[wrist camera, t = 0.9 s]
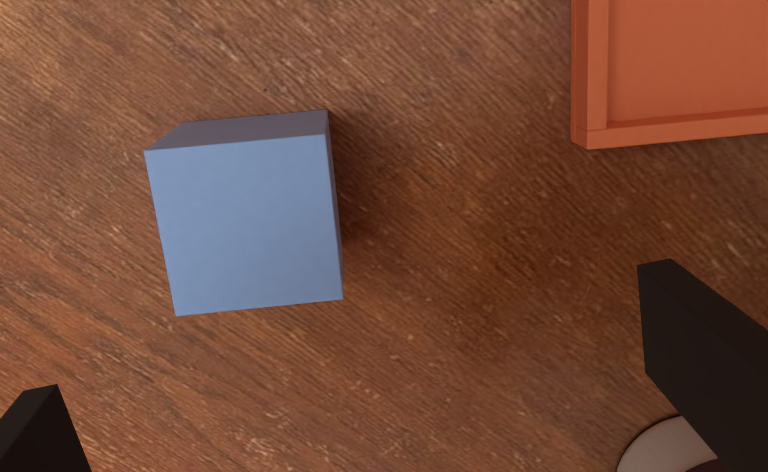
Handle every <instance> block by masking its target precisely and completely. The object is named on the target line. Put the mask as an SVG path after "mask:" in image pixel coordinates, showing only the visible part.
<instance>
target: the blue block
mask: <svg viewBox="0 0 768 472" xmlns="http://www.w3.org/2000/svg"><path fill="white" fill-rule="evenodd" d="M144 156H145V161H146V166H147V172H148V177H149V182H150V187H151V192H152V197H153V202H154V208H155V213H156V218H157V223H158V228H159V233H160V238H161V244H162V249H163V254H164V259H165V264H166V269H167V275H168V280H169V285H170V290H171V295H172V300H173V305H174V311H175V315H176V316H185V315H194V314H204V313H214V312H224V311H234V310H243V309H253V308H263V307H273V306H283V305H292V304H302V303H312V302H322V301H332V300H341V299H343V263H342V240H341V231H340V221H339V212H338V203H337V193H336V184H335V175H334V165H333V156H332V147H331V137H330V128H329V119H328V110H315V111H304V112H293V113H282V114H271V115H260V116H250V117H239V118H228V119H217V120H206V121H195V122H184V123H181V124H180V125H179V126H177V127H176V128H174V129H173V130H172V131H170V132H169V133H168V134H166V135H165V136H164V137H162V138H161V139H159V140H158V141H157V142H155V143H154V144H153V145H151V146H150V147H149V148H147V149H146V150H145V151H144Z"/></svg>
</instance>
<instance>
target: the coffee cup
mask: <svg viewBox="0 0 768 472" xmlns="http://www.w3.org/2000/svg"><path fill="white" fill-rule="evenodd" d="M617 472H730V471H729V470H728V469H727V468H726V467H725V466H724V464H723V463H722V462H721V461H720V460H719V459H718V457H717V456H716V455H715V454H714V453H713V451H712V450H711V449H710V448H709V447H708V446H707V444H706V443H705V442H704V441H703V440H702V439H701V437H700V436H699V435H698V434H697V433H696V431H695V430H694V429H693V428H692V427H691V426H690V424H689V423H688V422H687V421H686V420H685V419H684V417H683V416H679V417H675V418H671V419H668V420H665V421H663V422H660V423H658V424H656V425H654V426H653V427H651V428H649V429H648V430H646V431H645V432H644V433H642V434H641V435H640V436H639V437H638V438H637V439H636V440H635V441H634V442H633V443H631V445H630V446H629V447H628V449H627V450H626V451H625V453H624V455H623V456H622V458H621V460H620V463H619V465H618V468H617Z"/></svg>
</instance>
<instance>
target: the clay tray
mask: <svg viewBox="0 0 768 472" xmlns="http://www.w3.org/2000/svg"><path fill="white" fill-rule="evenodd" d="M762 133H768V0H571V141H572V142H574V143H576V144H578V145H580V146H581V147H583V148H585V149H587V150H594V149H604V148H615V147H625V146H636V145H646V144H657V143H667V142H678V141H688V140H699V139H709V138H720V137H730V136H741V135H751V134H762Z"/></svg>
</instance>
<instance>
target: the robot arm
mask: <svg viewBox="0 0 768 472" xmlns="http://www.w3.org/2000/svg"><path fill="white" fill-rule="evenodd" d="M637 273H638V286H639V298H640V311H641V323H642V336H643V348H644V361H645V373H646V374H647V375H648V376H649V377H650V379H651V380H652V381H653V382H654V383H655V385H656V386H657V387H658V388H659V389H660V390H661V392H662V393H663V394H664V395H665V396H666V397H667V399H668V400H669V401H670V402H671V403H672V404H673V406H674V407H675V408H676V409H677V410H678V412H679V413H680V414H681V415H682V416H683V417H684V419H685V420H686V421H687V422H688V423H689V424H690V426H691V427H692V428H693V429H694V430H695V431H696V433H697V434H698V435H699V436H700V437H701V439H702V440H703V441H704V442H705V443H706V444H707V446H708V447H709V448H710V449H711V450H712V451H713V453H714V454H715V455H716V456H717V457H718V459H719V460H720V461H721V462H722V463H723V464H724V466H725V467H726V468H727V469H728V470H729V471H730V472H768V330H766V329H765V328H764V327H762V326H761V325H760V324H758V323H757V322H756V321H754V320H753V319H752V318H750V317H749V316H748V315H746V314H745V313H744V312H742V311H741V310H739V309H738V308H737V307H735V306H734V305H733V304H731V303H730V302H729V301H727V300H726V299H725V298H723V297H722V296H721V295H719V294H718V293H717V292H715V291H714V290H713V289H711V288H710V287H709V286H707V285H706V284H705V283H703V282H702V281H700V280H699V279H698V278H696V277H695V276H694V275H692V274H691V273H690V272H688V271H687V270H686V269H684V268H683V267H682V266H680V265H679V264H678V263H676V262H675V261H674V260H672V259H671V258H670V259H665V260H660V261H655V262H650V263H645V264H640V265H637ZM0 472H92V471H91V469H90V466H89V464H88V461H87V459H86V456H85V453H84V451H83V448H82V446H81V443H80V441H79V438H78V436H77V433H76V431H75V428H74V426H73V423H72V421H71V418H70V415H69V413H68V410H67V408H66V405H65V403H64V400H63V398H62V395H61V393H60V390H59V388H58V385H57V384H55V385H50V386H45V387H40V388H35V389H30V390H26V391H23V392H22V393H21V394H20V395H19V397H18V398H17V399H16V400H15V402H14V403H13V404H12V405H11V406H10V408H9V409H8V410H7V411H6V413H5V414H4V415H3V416H2V417H1V419H0Z"/></svg>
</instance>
